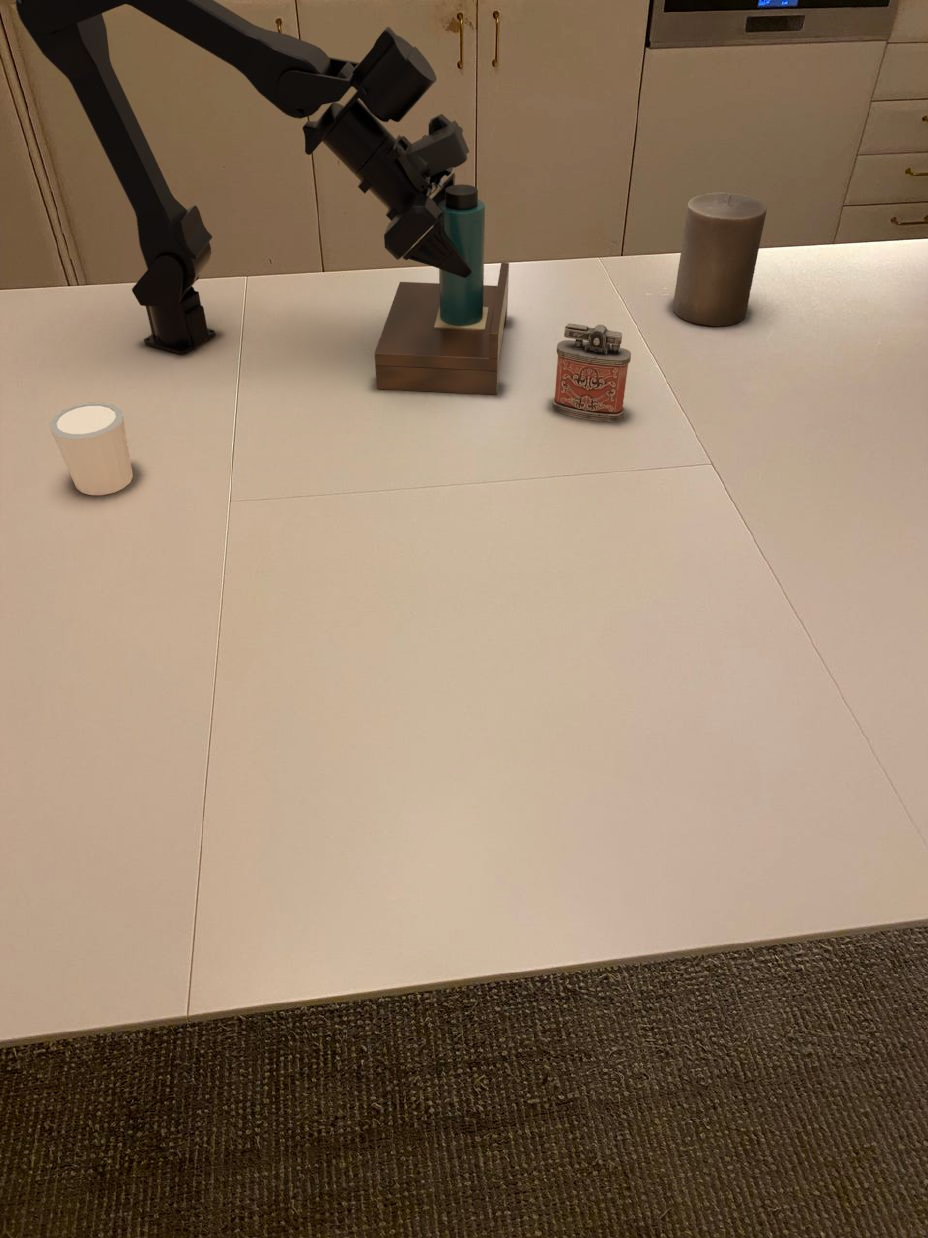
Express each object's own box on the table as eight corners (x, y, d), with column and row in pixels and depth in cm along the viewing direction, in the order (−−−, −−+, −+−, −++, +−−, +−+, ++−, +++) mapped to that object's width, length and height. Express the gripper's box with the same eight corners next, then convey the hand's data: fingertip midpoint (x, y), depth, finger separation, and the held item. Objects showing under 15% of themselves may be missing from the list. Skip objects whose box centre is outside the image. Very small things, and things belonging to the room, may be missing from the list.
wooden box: (376, 388, 111) (372, 327, 106) (401, 314, 125) (398, 258, 120) (496, 394, 110) (498, 333, 105) (507, 319, 125) (509, 262, 119)
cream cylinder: (120, 502, 94) (102, 441, 89) (56, 494, 95) (34, 433, 90) (150, 465, 99) (135, 404, 94) (89, 457, 100) (71, 397, 95)
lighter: (626, 410, 107) (637, 325, 101) (619, 424, 105) (630, 339, 98) (556, 398, 109) (563, 315, 102) (549, 412, 107) (554, 328, 100)
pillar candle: (758, 322, 124) (784, 203, 114) (688, 330, 122) (709, 210, 112) (726, 292, 131) (748, 177, 121) (660, 299, 129) (676, 183, 119)
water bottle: (452, 329, 112) (452, 200, 102) (432, 312, 115) (429, 186, 105) (491, 320, 114) (493, 192, 104) (469, 303, 117) (470, 178, 107)
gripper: (411, 121, 92) (520, 241, 99) (432, 74, 106) (527, 181, 112) (337, 203, 98) (445, 310, 104) (367, 148, 111) (461, 246, 118)
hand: (472, 258), depth 110 cm, fingers open, 9 cm apart
